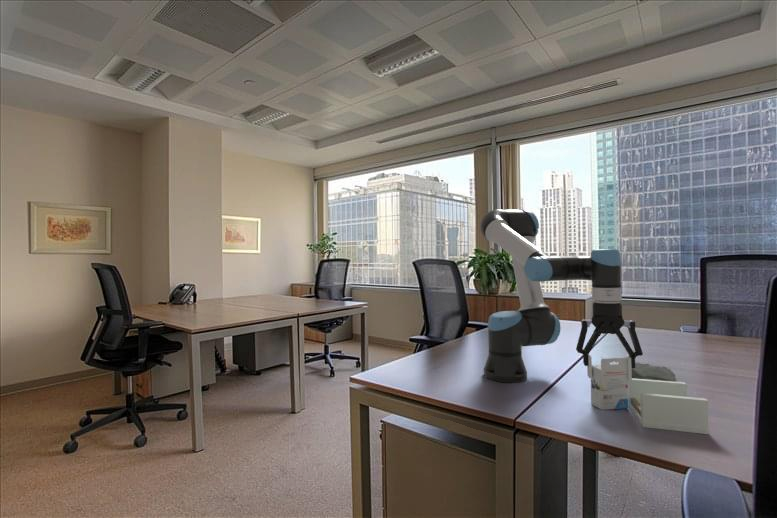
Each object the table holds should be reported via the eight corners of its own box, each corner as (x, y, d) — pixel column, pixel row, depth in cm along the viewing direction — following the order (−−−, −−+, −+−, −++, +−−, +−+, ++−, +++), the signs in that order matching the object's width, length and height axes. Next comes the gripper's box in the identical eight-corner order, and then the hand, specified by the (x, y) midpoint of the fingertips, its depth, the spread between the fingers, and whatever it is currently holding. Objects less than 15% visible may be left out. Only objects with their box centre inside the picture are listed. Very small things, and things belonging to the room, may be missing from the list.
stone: (609, 363, 146) (644, 357, 148) (611, 376, 146) (646, 370, 148) (648, 373, 128) (687, 366, 130) (651, 388, 127) (690, 381, 130)
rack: (643, 427, 99) (643, 395, 99) (627, 404, 113) (627, 377, 113) (709, 434, 95) (709, 401, 94) (683, 410, 109) (683, 381, 109)
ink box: (616, 402, 115) (616, 353, 115) (628, 408, 110) (628, 357, 110) (589, 403, 115) (590, 354, 114) (600, 410, 110) (601, 358, 109)
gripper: (567, 302, 112) (569, 379, 112) (655, 303, 105) (657, 384, 105) (564, 300, 119) (566, 371, 119) (646, 300, 112) (648, 376, 112)
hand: (609, 377), depth 112 cm, fingers closed on ink box, 9 cm apart
